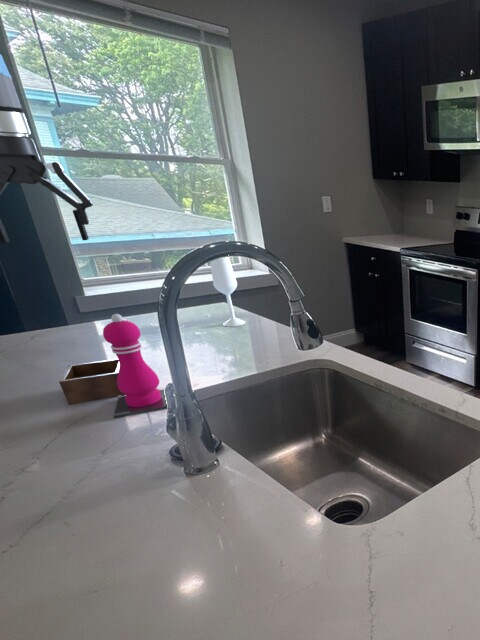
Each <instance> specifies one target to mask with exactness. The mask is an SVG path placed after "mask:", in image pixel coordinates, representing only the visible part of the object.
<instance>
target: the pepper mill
mask: <svg viewBox="0 0 480 640" xmlns="http://www.w3.org/2000/svg"><path fill="white" fill-rule="evenodd" d="M110 319H111V321H110V322H109V323H107V324H105V326H104V328H103V330H102V335H103V338H104V340H105V341H106V342H107V343H108V344H110V349H111V352H112V353H113V354H116V357H117V359H119V363H120V368H119V373H118V378H117V385H118V389H119V390H120V391H121V392H122V393H124V394H126V395H124V396H125V400H126V403H127V405H128V406H131V407H143V406H148V405H151V404H154V403H156V402H158V401H159V400H160V399H161V393H160V390H161V389H159V388H158V386H159V385H160V379H159V377H158V375H157V373H156V372H155V370H154V369H152V368H151V367H150V366H149V365H148V364H147V362H146V361H145V360H144V358H143V356H142V352H141V351H142V348H143V345H141V344H142V343H141V341H140V340H139V339H140V337H141V330H140V328H139V326H137V324H135V323H134V322H132V321H129V320H124V319H123V316H122V315H121V314H119V313H114V314H112V315H111V316H110Z"/></svg>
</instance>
